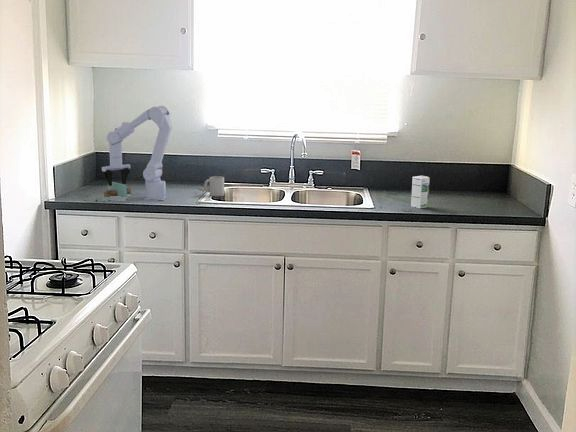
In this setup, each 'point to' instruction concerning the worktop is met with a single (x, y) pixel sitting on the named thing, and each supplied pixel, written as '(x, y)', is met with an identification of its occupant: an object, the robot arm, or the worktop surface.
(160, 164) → the robot arm
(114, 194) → the brown notched bar
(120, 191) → the teal bar
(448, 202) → the worktop surface
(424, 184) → the syrup box
